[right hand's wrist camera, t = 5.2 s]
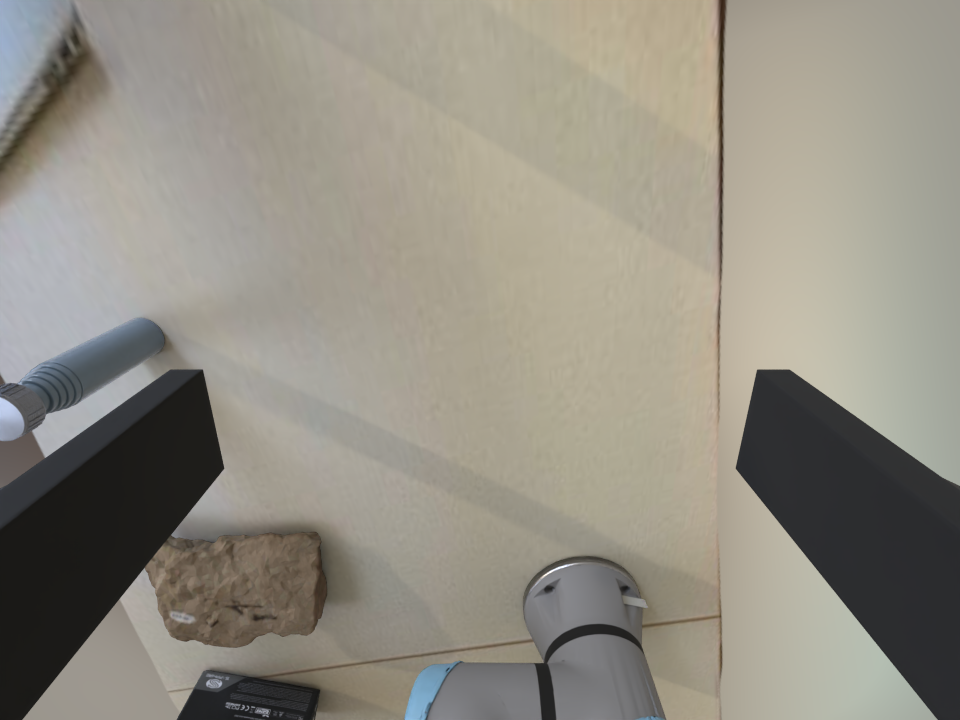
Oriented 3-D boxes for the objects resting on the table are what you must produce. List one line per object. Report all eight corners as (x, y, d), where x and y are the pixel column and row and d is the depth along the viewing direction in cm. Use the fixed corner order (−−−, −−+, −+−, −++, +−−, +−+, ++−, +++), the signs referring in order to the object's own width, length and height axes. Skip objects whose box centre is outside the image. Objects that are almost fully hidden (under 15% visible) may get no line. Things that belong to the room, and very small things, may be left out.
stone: (158, 632, 66) (136, 667, 60) (149, 523, 64) (125, 548, 58) (329, 617, 70) (324, 648, 64) (326, 513, 68) (320, 535, 62)
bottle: (157, 316, 54) (16, 387, 38) (169, 353, 56) (40, 438, 39) (118, 319, 54) (-39, 392, 38) (131, 356, 56) (-13, 442, 39)
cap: (34, 380, 39) (11, 391, 37) (55, 426, 41) (34, 439, 39) (-17, 384, 39) (-42, 396, 37) (6, 430, 41) (-17, 443, 39)
